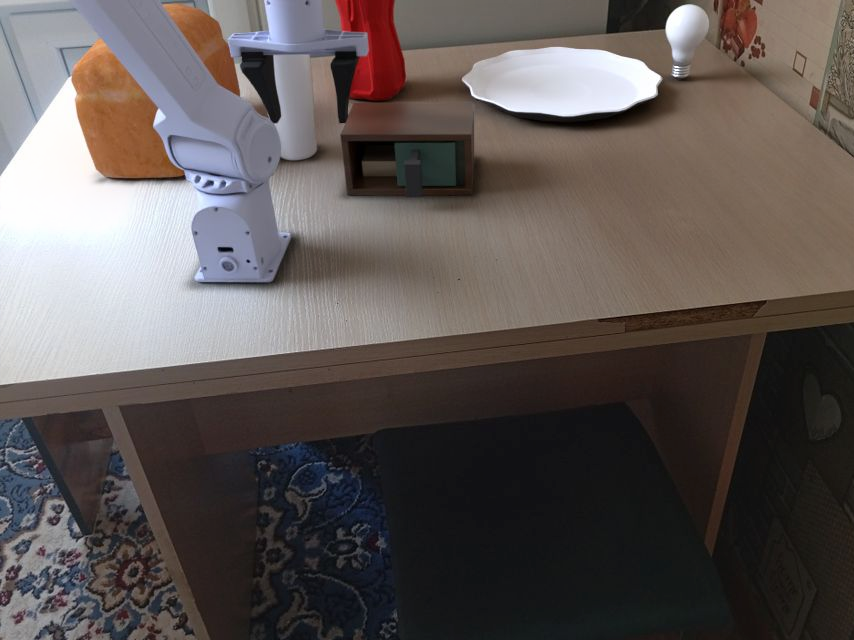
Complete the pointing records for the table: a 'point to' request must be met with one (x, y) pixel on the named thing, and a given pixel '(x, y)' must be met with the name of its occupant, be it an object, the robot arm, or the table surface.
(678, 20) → the lightbulb
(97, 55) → the bread
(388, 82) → the water bottle
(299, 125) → the white cylinder
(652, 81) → the plate
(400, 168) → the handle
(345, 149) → the cupboard
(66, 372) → the table surface
